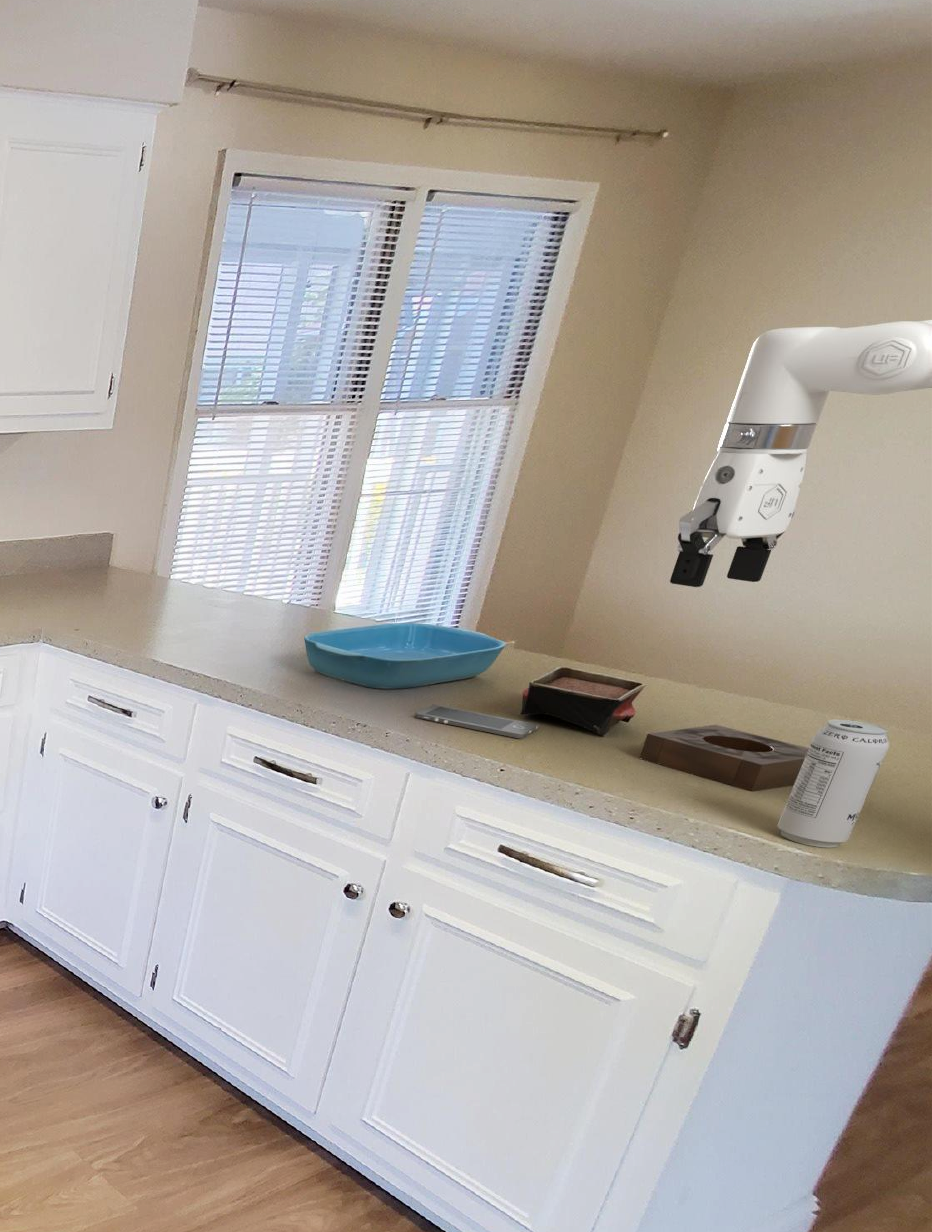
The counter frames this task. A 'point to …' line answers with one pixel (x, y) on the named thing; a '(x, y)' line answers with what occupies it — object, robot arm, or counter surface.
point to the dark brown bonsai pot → (582, 698)
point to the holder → (727, 756)
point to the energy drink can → (833, 783)
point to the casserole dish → (401, 654)
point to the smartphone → (477, 721)
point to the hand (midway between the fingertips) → (714, 582)
